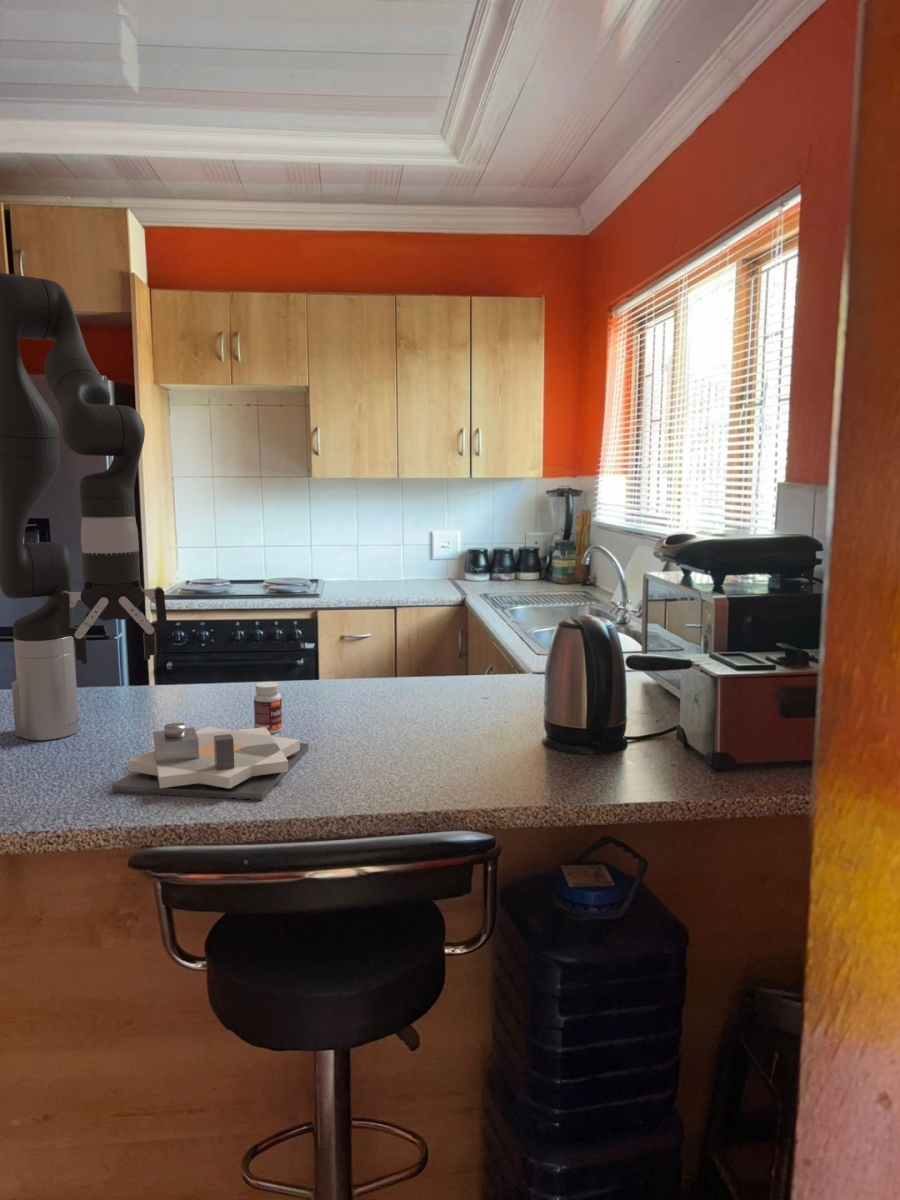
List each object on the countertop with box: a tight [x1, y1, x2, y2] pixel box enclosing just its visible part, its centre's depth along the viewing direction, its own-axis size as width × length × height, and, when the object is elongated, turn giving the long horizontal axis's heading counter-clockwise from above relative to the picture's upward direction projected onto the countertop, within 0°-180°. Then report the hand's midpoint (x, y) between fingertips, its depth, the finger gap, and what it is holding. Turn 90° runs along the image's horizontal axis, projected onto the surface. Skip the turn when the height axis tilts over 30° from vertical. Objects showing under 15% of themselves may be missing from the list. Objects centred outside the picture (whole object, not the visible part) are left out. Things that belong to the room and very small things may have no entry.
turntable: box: [128, 726, 301, 789], centre depth 127 cm, size 26×26×6 cm
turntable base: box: [112, 742, 309, 801], centre depth 128 cm, size 22×22×1 cm
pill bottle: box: [253, 681, 283, 735], centre depth 147 cm, size 5×5×8 cm
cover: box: [152, 722, 199, 764], centre depth 125 cm, size 6×6×4 cm
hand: (116, 660), depth 120 cm, fingers open, 8 cm apart
